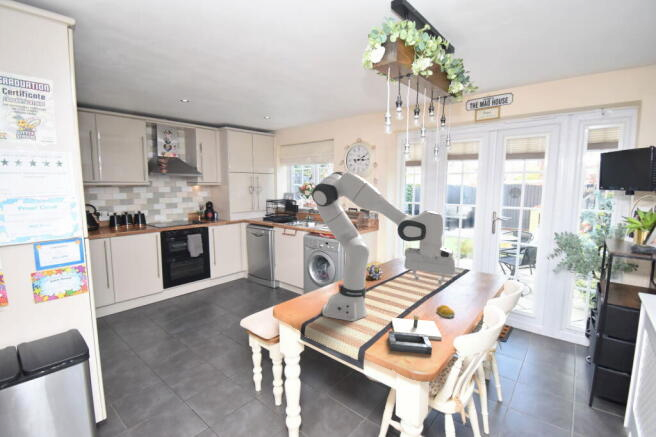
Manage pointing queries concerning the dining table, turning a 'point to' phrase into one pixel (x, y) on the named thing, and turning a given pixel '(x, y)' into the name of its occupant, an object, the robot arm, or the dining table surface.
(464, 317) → the dining table surface
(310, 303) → the dining table surface
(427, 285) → the dining table surface
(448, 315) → the bread roll
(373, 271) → the passion flower
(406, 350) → the dark grey rectangular frame
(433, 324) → the plate
